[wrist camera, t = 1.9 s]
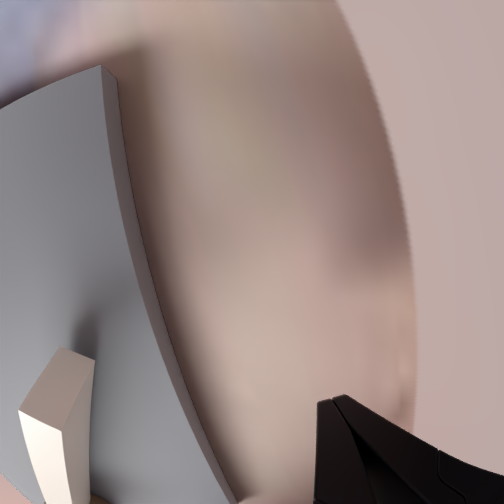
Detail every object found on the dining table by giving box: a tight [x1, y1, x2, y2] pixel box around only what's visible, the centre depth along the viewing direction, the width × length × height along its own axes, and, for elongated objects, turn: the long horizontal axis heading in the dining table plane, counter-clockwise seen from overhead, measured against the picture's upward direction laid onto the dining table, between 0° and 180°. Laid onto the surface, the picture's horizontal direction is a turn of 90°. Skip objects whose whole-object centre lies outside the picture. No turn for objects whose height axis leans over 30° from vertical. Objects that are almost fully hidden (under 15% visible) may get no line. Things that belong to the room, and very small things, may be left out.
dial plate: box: [0, 65, 238, 504], centre depth 9 cm, size 22×16×2 cm
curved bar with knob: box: [18, 346, 110, 504], centre depth 8 cm, size 15×4×4 cm, turn 159°
